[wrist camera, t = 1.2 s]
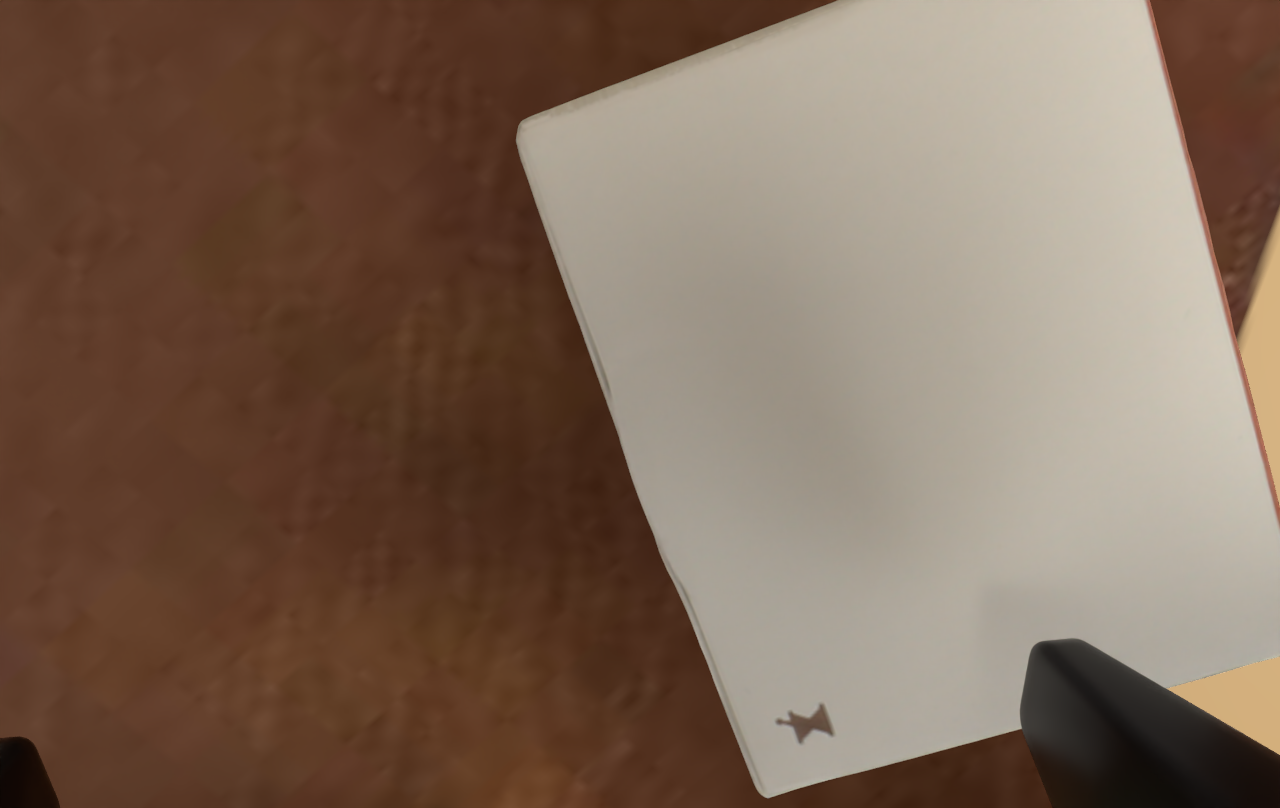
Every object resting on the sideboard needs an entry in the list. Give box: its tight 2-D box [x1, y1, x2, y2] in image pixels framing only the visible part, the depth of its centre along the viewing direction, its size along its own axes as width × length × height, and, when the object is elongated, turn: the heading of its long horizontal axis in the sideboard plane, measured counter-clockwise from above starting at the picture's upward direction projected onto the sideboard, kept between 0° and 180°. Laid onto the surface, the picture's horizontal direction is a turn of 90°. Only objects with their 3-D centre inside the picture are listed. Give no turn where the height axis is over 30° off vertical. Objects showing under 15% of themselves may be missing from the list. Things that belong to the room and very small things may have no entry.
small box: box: [516, 0, 1280, 798], centre depth 16 cm, size 8×6×13 cm
